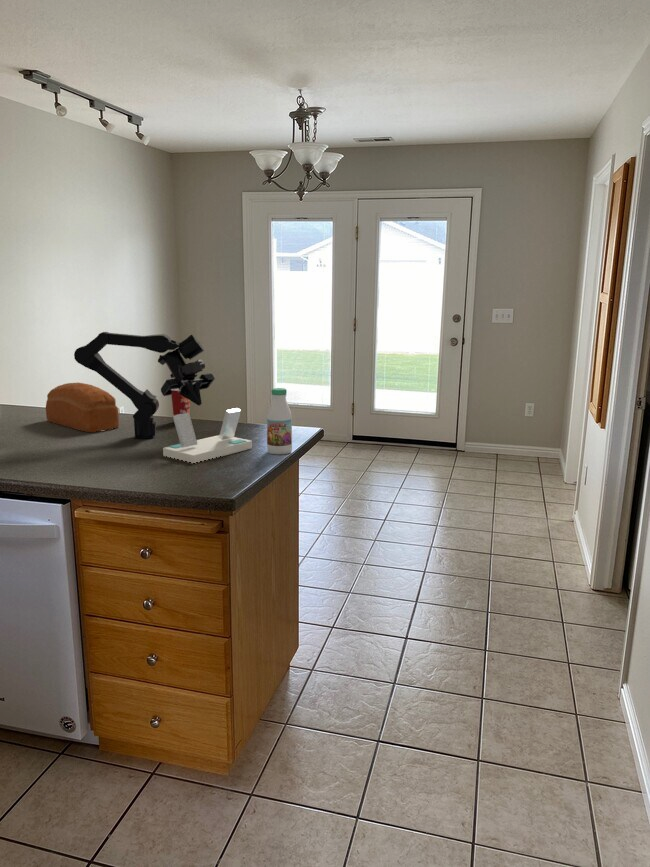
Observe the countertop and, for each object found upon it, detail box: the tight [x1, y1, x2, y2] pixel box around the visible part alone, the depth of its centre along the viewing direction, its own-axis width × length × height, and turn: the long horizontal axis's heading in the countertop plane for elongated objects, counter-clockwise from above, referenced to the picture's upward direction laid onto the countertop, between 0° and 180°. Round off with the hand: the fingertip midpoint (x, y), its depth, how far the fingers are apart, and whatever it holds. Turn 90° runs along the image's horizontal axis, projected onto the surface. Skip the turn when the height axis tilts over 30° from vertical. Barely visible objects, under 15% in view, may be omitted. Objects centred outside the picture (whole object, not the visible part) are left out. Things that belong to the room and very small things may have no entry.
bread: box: [45, 382, 120, 433], centre depth 241 cm, size 14×33×16 cm, turn 49°
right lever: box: [218, 407, 242, 440], centre depth 207 cm, size 2×5×10 cm, turn 142°
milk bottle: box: [266, 387, 293, 456], centre depth 202 cm, size 8×8×20 cm
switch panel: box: [162, 434, 253, 464], centre depth 204 cm, size 14×24×3 cm, turn 141°
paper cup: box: [170, 389, 191, 416], centre depth 246 cm, size 8×8×14 cm
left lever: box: [172, 413, 198, 448], centre depth 197 cm, size 2×5×10 cm, turn 141°
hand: (200, 404), depth 214 cm, fingers closed
